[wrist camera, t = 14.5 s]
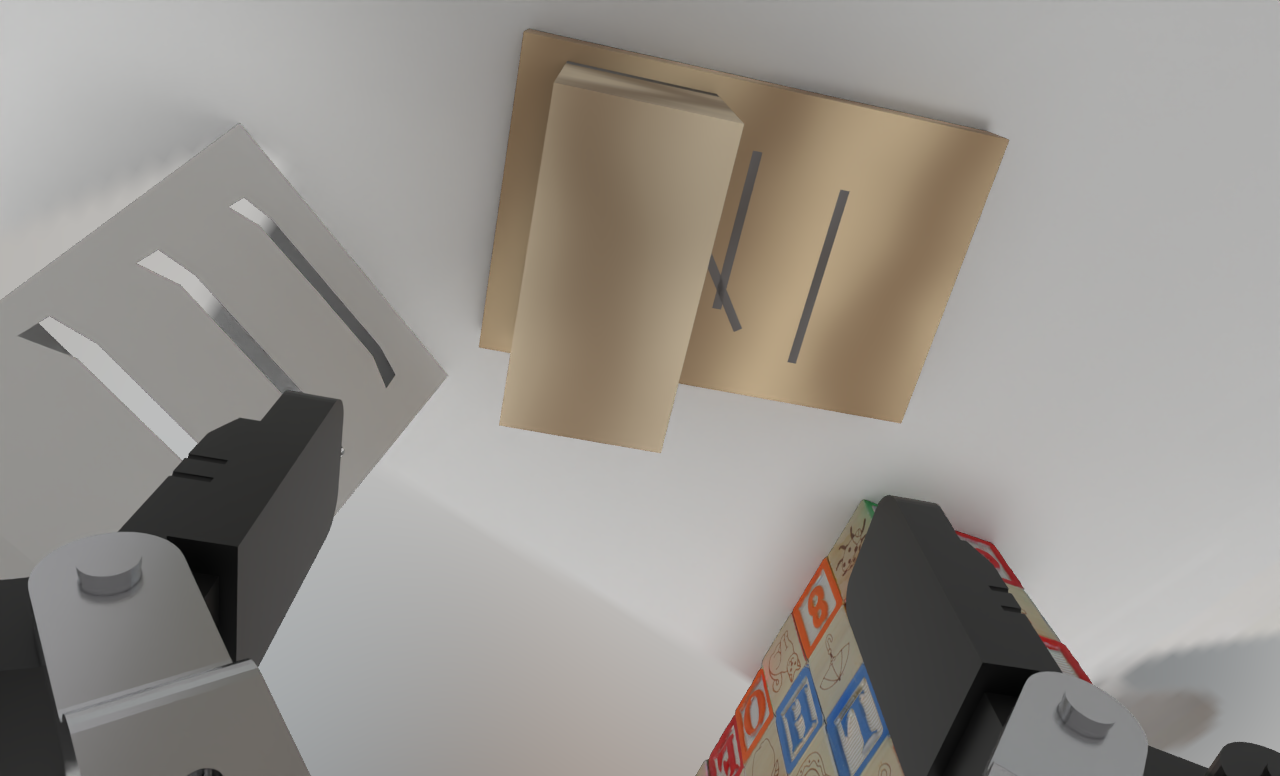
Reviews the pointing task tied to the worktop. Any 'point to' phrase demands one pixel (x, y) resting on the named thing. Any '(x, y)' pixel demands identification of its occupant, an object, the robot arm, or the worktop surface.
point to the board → (787, 234)
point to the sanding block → (617, 255)
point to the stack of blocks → (832, 681)
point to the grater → (185, 349)
